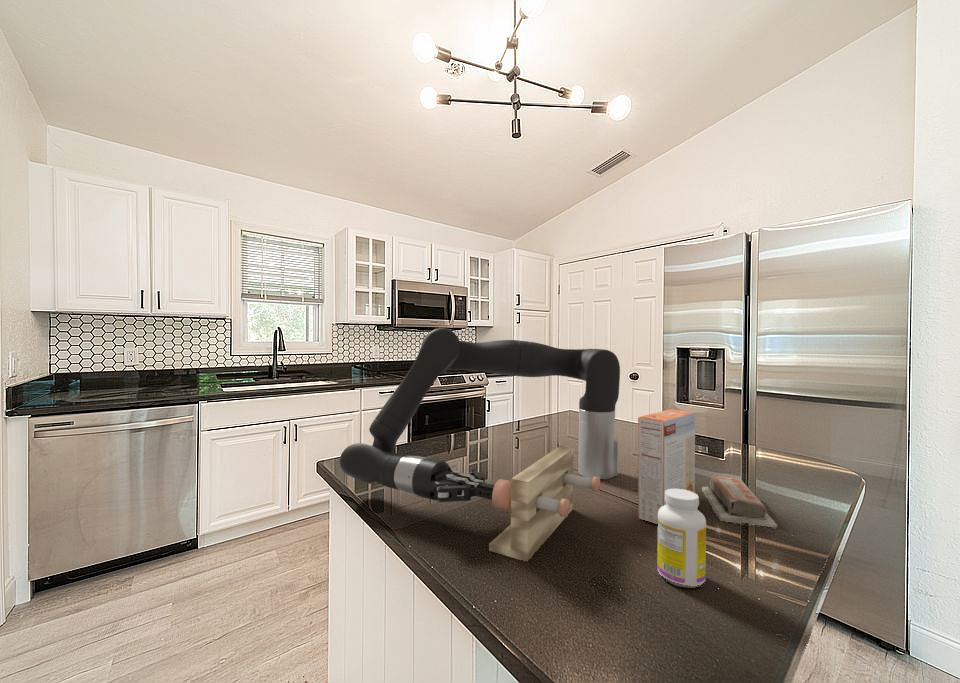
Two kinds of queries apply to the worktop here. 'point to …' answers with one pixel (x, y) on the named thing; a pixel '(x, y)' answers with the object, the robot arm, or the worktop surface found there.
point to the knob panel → (528, 520)
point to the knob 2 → (582, 481)
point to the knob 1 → (503, 499)
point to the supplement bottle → (681, 539)
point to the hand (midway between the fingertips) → (498, 493)
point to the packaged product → (736, 502)
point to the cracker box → (664, 458)
